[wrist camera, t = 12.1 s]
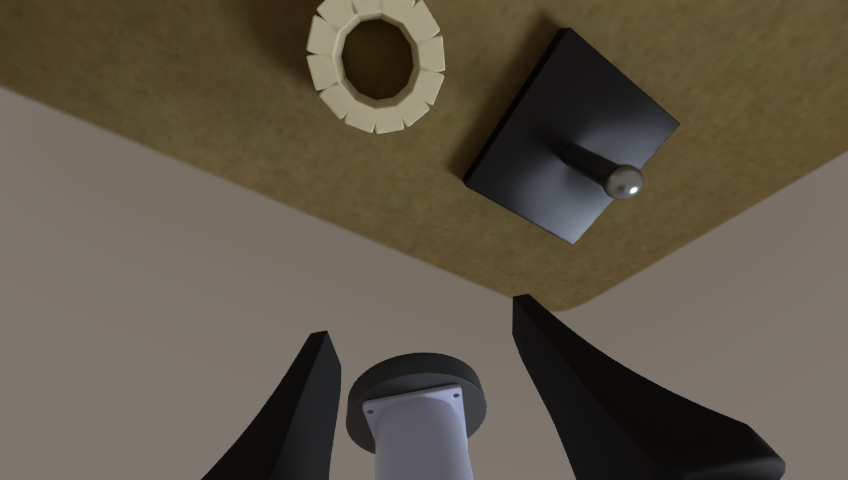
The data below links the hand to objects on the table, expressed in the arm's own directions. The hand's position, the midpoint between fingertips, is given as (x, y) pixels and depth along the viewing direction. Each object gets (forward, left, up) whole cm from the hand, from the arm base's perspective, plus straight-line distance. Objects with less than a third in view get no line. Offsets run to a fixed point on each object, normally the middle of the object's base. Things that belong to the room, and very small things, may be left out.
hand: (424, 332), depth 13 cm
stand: (+3, -10, -9) cm, 14 cm away
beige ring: (+9, 0, -9) cm, 13 cm away
